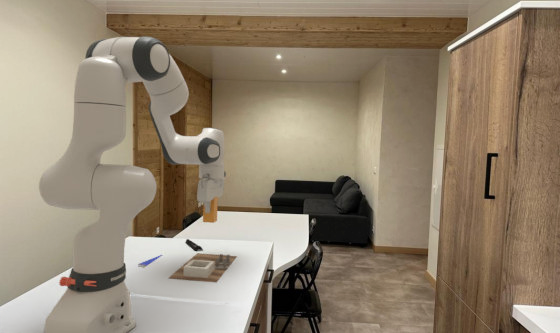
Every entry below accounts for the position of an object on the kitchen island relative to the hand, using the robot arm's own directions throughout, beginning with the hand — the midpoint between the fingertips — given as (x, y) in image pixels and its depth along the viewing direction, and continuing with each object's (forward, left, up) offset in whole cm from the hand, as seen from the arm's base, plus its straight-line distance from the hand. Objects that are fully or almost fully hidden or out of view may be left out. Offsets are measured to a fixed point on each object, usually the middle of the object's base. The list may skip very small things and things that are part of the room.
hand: (210, 211), depth 133 cm
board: (-4, 0, -20) cm, 21 cm away
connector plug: (0, 0, -4) cm, 4 cm away
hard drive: (-1, +19, -21) cm, 28 cm away
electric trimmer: (+19, +13, -21) cm, 31 cm away
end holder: (-11, 0, -19) cm, 22 cm away
